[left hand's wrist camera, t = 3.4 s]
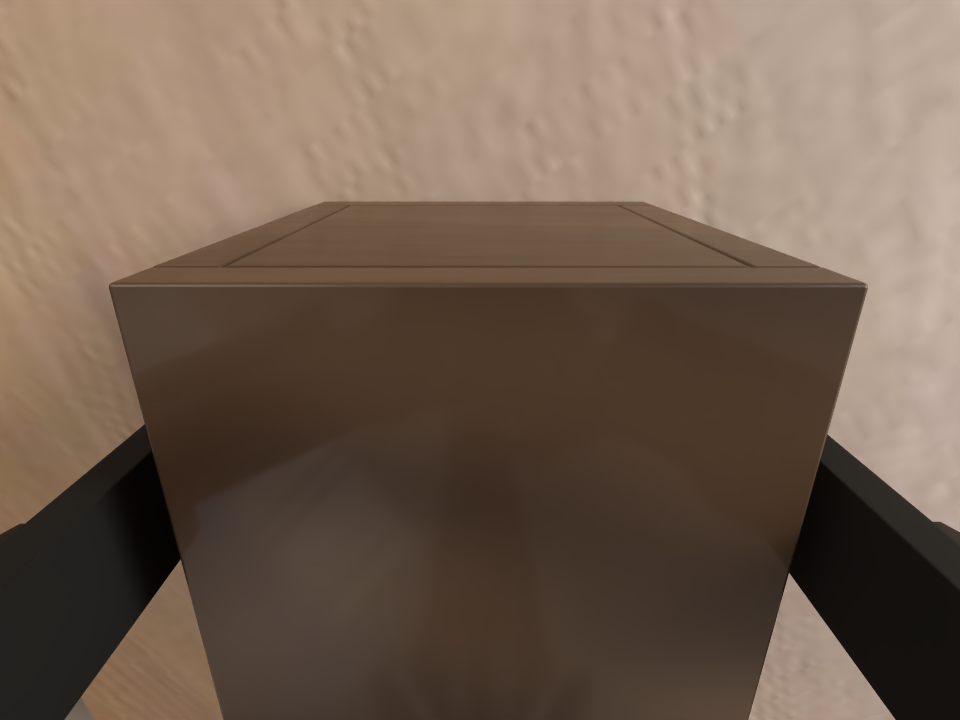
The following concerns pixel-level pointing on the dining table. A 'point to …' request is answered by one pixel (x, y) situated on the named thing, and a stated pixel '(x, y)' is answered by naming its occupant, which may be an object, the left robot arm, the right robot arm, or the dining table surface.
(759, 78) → the dining table surface
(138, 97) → the dining table surface
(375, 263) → the cabinet
